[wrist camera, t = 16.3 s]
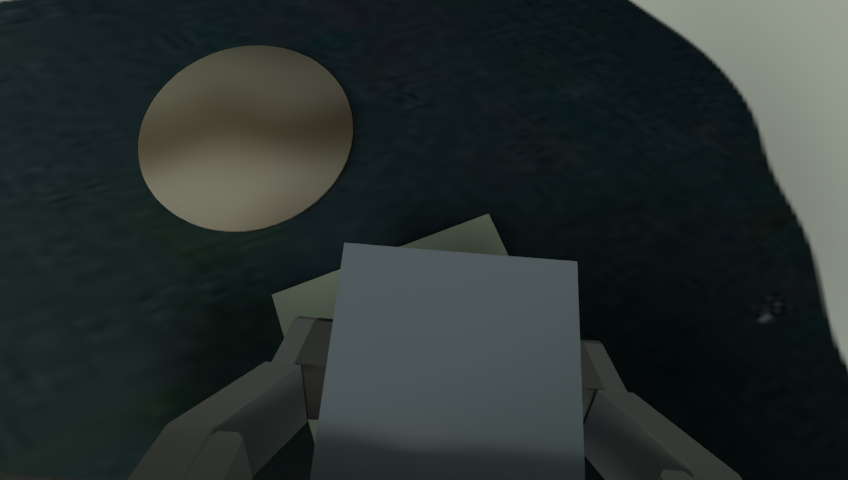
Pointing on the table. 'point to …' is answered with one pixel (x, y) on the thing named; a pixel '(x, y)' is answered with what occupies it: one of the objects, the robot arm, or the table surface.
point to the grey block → (452, 369)
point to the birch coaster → (246, 138)
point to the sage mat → (465, 237)
